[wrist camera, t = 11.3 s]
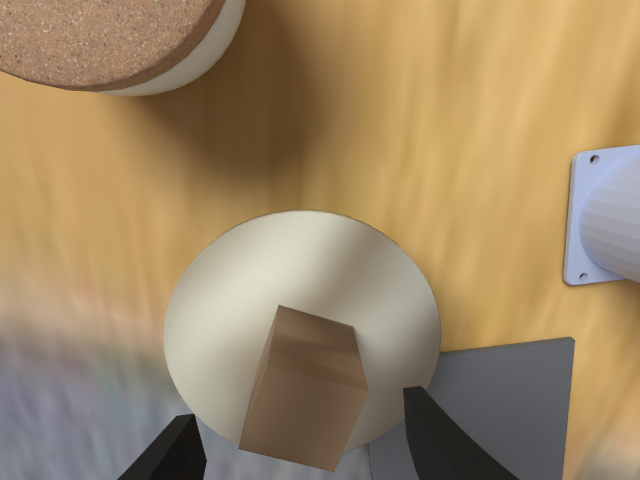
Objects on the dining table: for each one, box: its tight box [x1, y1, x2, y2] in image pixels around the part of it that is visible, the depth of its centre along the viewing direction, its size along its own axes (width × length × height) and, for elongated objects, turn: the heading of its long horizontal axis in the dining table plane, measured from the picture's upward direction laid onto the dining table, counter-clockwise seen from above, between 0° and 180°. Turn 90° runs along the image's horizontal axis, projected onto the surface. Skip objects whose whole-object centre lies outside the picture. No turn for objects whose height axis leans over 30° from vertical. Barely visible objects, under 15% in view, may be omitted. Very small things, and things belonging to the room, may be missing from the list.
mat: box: [368, 337, 575, 480], centre depth 24 cm, size 14×14×1 cm
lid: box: [164, 210, 441, 472], centre depth 14 cm, size 13×13×5 cm
